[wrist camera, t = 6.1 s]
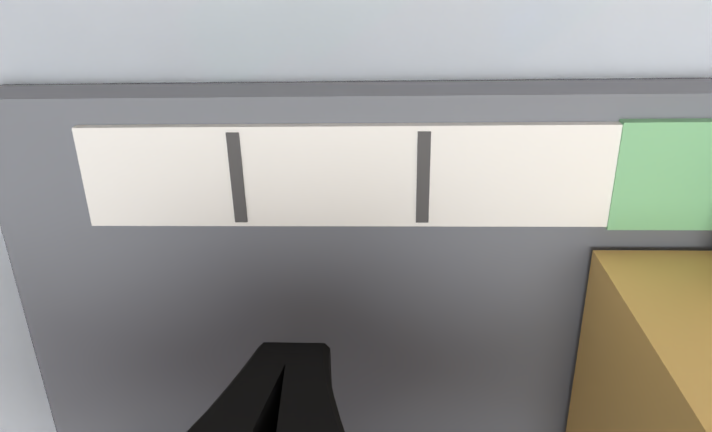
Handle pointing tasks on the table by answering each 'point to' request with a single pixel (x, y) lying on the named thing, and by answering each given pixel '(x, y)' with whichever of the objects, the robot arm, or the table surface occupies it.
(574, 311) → the gauge track
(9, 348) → the table surface
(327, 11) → the table surface
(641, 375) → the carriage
